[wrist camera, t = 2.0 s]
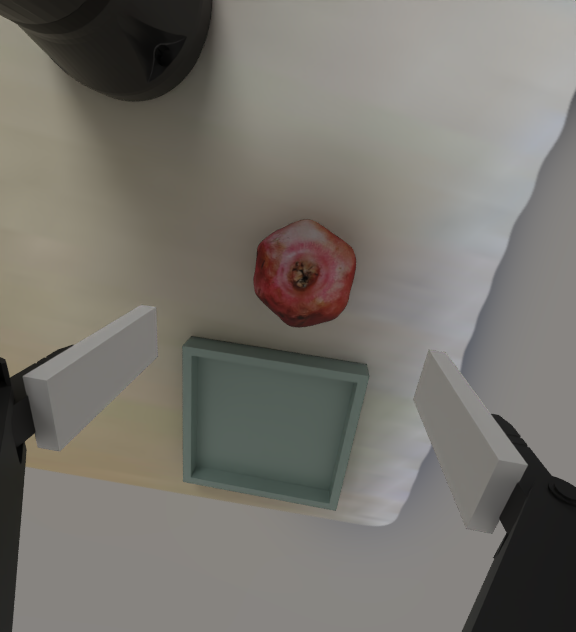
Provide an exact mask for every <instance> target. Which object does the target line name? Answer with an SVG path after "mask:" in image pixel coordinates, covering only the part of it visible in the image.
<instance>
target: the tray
mask: <svg viewBox="0 0 576 632" xmlns="http://www.w3.org/2000/svg"><path fill="white" fill-rule="evenodd" d="M182 349H183V482H187V483H192V484H198V485H203V486H208V487H213V488H219V489H224V490H229V491H234V492H240V493H245V494H250V495H255V496H261V497H266V498H271V499H276V500H282V501H287V502H292V503H297V504H303V505H308V506H313V507H319V508H324V509H329V510H334V511H336V508H337V504H338V500H339V496H340V492H341V488H342V484H343V480H344V476H345V472H346V468H347V464H348V460H349V456H350V452H351V448H352V444H353V440H354V436H355V432H356V428H357V424H358V420H359V416H360V412H361V408H362V404H363V400H364V396H365V392H366V388H367V384H368V379H369V373H368V368H367V364H361V363H355V362H349V361H343V360H337V359H330V358H324V357H318V356H312V355H305V354H299V353H293V352H287V351H281V350H274V349H268V348H262V347H256V346H249V345H243V344H237V343H231V342H225V341H218V340H212V339H206V338H200V337H193V336H191V337H190V338H189V340H188V341H187V342H186V343H185V344H184V345H183V346H182Z"/></svg>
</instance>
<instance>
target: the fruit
mask: <svg viewBox="0 0 576 632" xmlns="http://www.w3.org/2000/svg"><path fill="white" fill-rule="evenodd" d="M355 269H356V257H355V254H354V251H353V249H352V247H351V246H349V245H348V244H347V243H346V242H344V241H343V240H341V239H340V238H339V237H337V236H336V235H334V234H333V233H331V232H330V231H329V230H327V229H326V228H325V227H323V226H322V225H320V224H319V223H317V222H315V221H313V220H309V219H304V220H300V221H297V222H294V223H292V224H289V225H288V226H286V227H284V228H282V229H279V230H277V231H275V232H274V233H272V234H270V235H269V236H268V237H266V238H265V239H264V240H263V241H262V242H261V243H260V244H259V246H258V248H257V258H256V268H255V273H254V278H253V281H254V289H255V293H256V295H257V296H258V298H259V299H260V300H261V301H262V302H263V303H264V304H265V305H266V306H267V307H268V308H269V309H270V310H272V311H273V312H274V313H275V314H276V315H277V316H279V317H280V319H281V320H282V321H283V322H285V323H286V324H287V325H289V326H292V327H307V326H312V325H316V324H320V323H323V322H327V321H331V320H333V319H335V318H336V317H338V316H339V314H340V313H341V312H342V311H343V310H344V308H345V307H346V305H347V303H348V300H349V294H350V290H351V286H352V284H353V280H354V275H355Z"/></svg>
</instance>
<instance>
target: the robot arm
mask: <svg viewBox="0 0 576 632" xmlns="http://www.w3.org/2000/svg"><path fill="white" fill-rule="evenodd" d="M211 8H212V0H0V15H1V16H3V17H5V18H7V19H9V20H11V21H13V22H14V23H16V24H18V25H19V27H20V28H21V29H22V30H23V31H24V32H25V33H26V34H27V35H28V36H29V37H30V38H31V39H32V40H33V41H34V42H35V43H36V44H37V45H38V46H39V47H40V48H41V49H42V50H44V51H45V52H46V53H47V54H48V55H49V56H50V58H51V59H52V60H53V61H54V62H55V63H56V64H57V65H58V66H59V67H60V68H61V69H62V70H63V71H65V72H66V73H67V74H68V75H70V76H71V77H72V78H74V79H75V80H77V81H78V82H80V83H81V84H83V85H85V86H87V87H89V88H91V89H93V90H95V91H98V92H100V93H102V94H105V95H107V96H110V97H113V98H116V99H120V100H125V101H144V100H149V99H153V98H156V97H159V96H161V95H163V94H165V93H167V92H168V91H170V90H171V89H173V88H174V87H175V86H177V85H178V84H179V83H180V82H181V81H182V80H183V79H184V78H185V77H186V76H187V74H188V73H189V72H190V70H191V69H192V68H193V66H194V64H195V63H196V61H197V59H198V57H199V55H200V53H201V51H202V48H203V46H204V43H205V40H206V36H207V33H208V28H209V23H210V17H211ZM157 357H158V347H157V318H156V307H153V306H146V305H140V306H138V307H136V308H135V309H133V310H131V311H130V312H128V313H127V314H125V315H123V316H122V317H120V318H118V319H117V320H115V321H113V322H112V323H110V324H108V325H107V326H105V327H103V328H102V329H100V330H98V331H97V332H95V333H93V334H92V335H90V336H88V337H87V338H85V339H83V340H82V341H80V342H79V343H77V344H75V345H70V346H68V347H65V348H62V349H59V350H57V351H55V352H53V353H52V354H50V355H48V356H47V357H46V358H43V359H41V360H40V361H38V362H37V363H34V364H33V365H31V366H29V367H28V368H26V369H24V370H22V371H21V372H19V373H17V374H16V375H14V376H12V377H9V372H8V368H7V364H6V361H5V359H3V358H1V357H0V632H12V624H13V612H14V600H15V587H16V574H17V562H18V550H19V538H20V525H21V512H22V500H23V487H24V475H25V463H26V451H27V450H26V445H25V441H26V440H27V439H28V438H29V437H31V436H32V435H33V434H34V433H35V437H36V441H37V446H38V447H39V448H44V449H49V450H54V451H61V450H62V449H63V448H64V447H65V446H66V445H67V444H68V443H69V442H70V441H71V440H72V439H73V438H74V437H75V436H76V435H77V434H78V433H79V432H80V431H81V430H82V429H83V428H84V427H85V426H86V425H88V424H89V423H90V422H91V421H92V420H93V419H94V418H95V417H96V416H97V415H98V414H99V413H100V412H101V411H102V410H103V409H104V408H105V407H106V406H107V405H108V404H109V403H110V402H111V401H112V400H113V399H114V398H115V397H116V396H118V395H119V394H120V393H121V392H122V391H123V390H124V389H125V388H126V387H127V386H128V385H129V384H130V383H131V382H132V381H133V380H134V379H135V378H136V377H137V376H138V375H139V374H140V373H141V372H142V371H143V370H144V369H145V368H146V367H147V366H149V365H150V364H151V363H152V362H153V361H154V360H155V359H156V358H157ZM413 400H414V402H415V405H416V407H417V409H418V412H419V414H420V417H421V419H422V422H423V424H424V427H425V429H426V431H427V434H428V436H429V439H430V441H431V444H432V446H433V448H434V451H435V453H436V456H437V458H438V460H439V463H440V465H441V468H442V470H443V473H444V475H445V478H446V480H447V483H448V485H449V487H450V490H451V492H452V495H453V497H454V500H455V502H456V505H457V507H458V509H459V512H460V514H461V517H462V519H463V522H464V524H465V527H466V529H470V530H475V531H480V532H485V533H491V534H492V533H493V531H494V529H495V528H496V525H497V524H498V522H499V520H500V521H501V523H502V525H503V527H504V529H505V530H506V532H507V533H506V535H505V537H504V539H503V541H502V542H501V544H500V546H499V548H498V550H497V552H496V553H495V555H494V557H493V558H494V561H493V563H492V565H491V567H490V570H489V572H488V574H487V576H486V578H485V581H484V583H483V585H482V588H481V590H480V592H479V594H478V596H477V599H476V601H475V603H474V605H473V608H472V610H471V612H470V614H469V616H468V619H467V621H466V623H465V626H464V628H463V630H462V632H576V487H574V486H573V485H571V484H570V483H568V482H566V481H564V480H562V479H559V478H557V477H553V476H551V474H550V473H549V472H548V471H547V469H546V468H545V467H544V465H543V464H542V463H541V462H540V460H539V459H538V458H537V457H536V455H535V454H534V453H533V451H532V450H531V449H530V448H529V447H527V444H526V443H525V441H524V440H523V439H522V438H520V435H519V434H518V432H517V431H516V430H515V429H514V428H513V426H512V425H511V424H510V423H508V422H507V421H505V420H504V419H503V418H502V417H501V416H499V415H495V414H490V412H489V411H488V410H487V408H486V407H485V406H484V404H483V403H482V402H481V400H480V399H479V397H478V396H477V395H476V393H475V392H474V391H473V389H472V388H471V387H470V385H469V384H468V382H467V381H466V380H465V378H464V377H463V375H462V374H461V373H460V371H459V370H458V369H457V367H456V366H455V364H454V363H453V362H452V360H451V359H450V358H449V356H448V355H447V354H446V352H440V351H434V350H429V351H428V354H427V357H426V360H425V363H424V367H423V370H422V373H421V376H420V379H419V382H418V386H417V389H416V392H415V395H414V398H413Z"/></svg>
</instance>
